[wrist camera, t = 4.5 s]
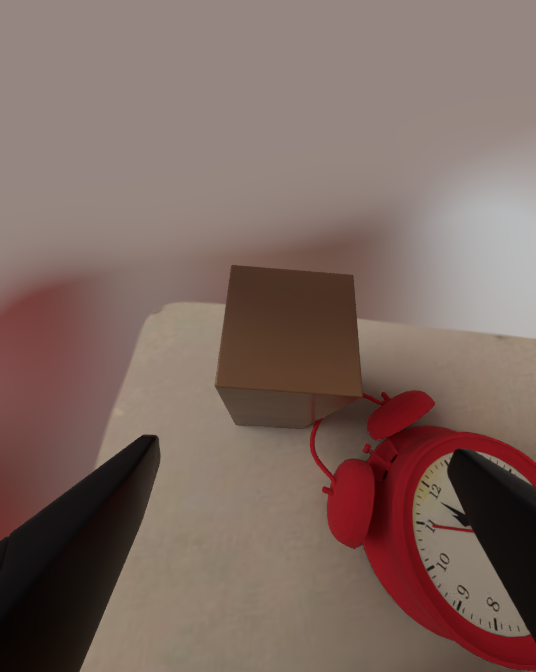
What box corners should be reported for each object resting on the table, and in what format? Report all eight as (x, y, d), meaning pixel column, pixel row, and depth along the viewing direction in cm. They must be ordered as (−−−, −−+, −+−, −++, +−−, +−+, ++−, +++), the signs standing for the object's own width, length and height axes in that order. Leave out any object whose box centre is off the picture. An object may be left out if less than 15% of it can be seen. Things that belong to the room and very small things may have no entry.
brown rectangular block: (301, 429, 18) (363, 397, 8) (235, 424, 18) (214, 386, 8) (302, 365, 20) (353, 274, 10) (241, 361, 20) (231, 264, 10)
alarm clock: (603, 796, 10) (298, 526, 10) (455, 653, 16) (262, 483, 16) (646, 528, 14) (421, 329, 14) (512, 492, 20) (354, 353, 20)
